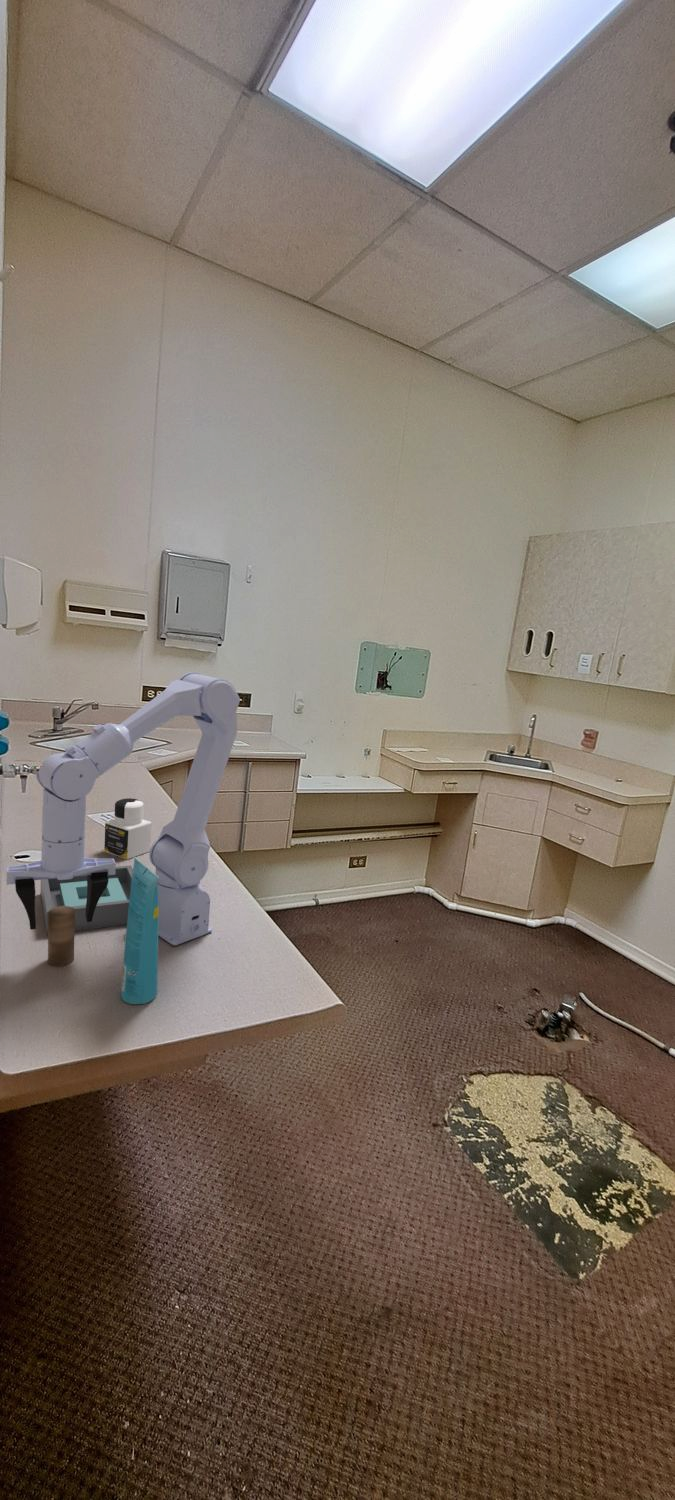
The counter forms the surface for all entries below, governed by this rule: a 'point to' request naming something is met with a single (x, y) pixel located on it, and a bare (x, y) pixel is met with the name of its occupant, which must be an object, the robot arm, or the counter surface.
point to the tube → (141, 938)
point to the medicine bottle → (128, 830)
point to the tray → (101, 909)
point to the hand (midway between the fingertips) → (61, 922)
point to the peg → (61, 936)
